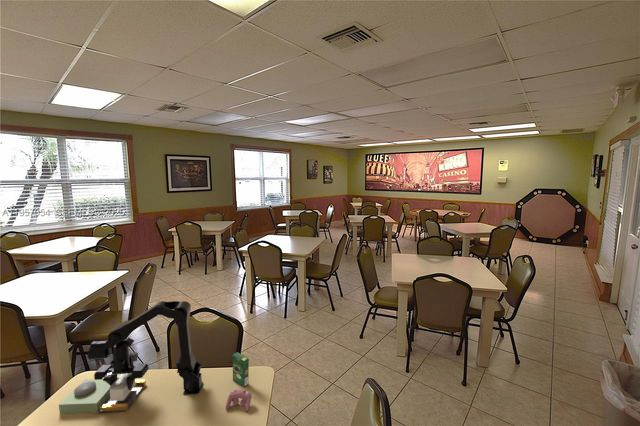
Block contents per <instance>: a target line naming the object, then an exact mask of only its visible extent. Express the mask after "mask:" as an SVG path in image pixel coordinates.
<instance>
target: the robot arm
mask: <svg viewBox="0 0 640 426" xmlns="http://www.w3.org/2000/svg"><path fill="white" fill-rule="evenodd" d="M191 308H192V307H191V303H190V302H188V301H187V300H182V301H176V300H171V301H164V300H163V301H158V302H157V303H156V304H154V305H152V306H151V307H150V308H148V309H147V310H144V311H143V312H141V313H140V314H139V315H136V316H135V317H134V318H132V319H130V320H125V321H122V322H120V323H118V324H117V325H116V326H115V327H113V329H112V330H110V332H109V333H108V336H107V338H108V339H106V340H100V341H99V340H96V341H95V340H93V341H92V342H91V343H90V345H89V346H90V347H89V350H88V354H87V358H88V360H90V361H91V360H100V359H107V358H108V357H109V356H111V358H112V359H111V361H110V364H102V365H101V366H100V367H99V368H98V369H97V370H96V371H95V372H94V374H93V379H95V380H101V379H103V381H105V382H107V383H108V384H109V385H110V386H111V385H112V384H113V383H114V382H115V381H116V379H117V378H118V375H121V374H127V373H129V377H128V378H127V379H126V381H127V385H128V389H129V390H131V388H132V385H133V382H134V379H135V380H136V379H142V378H143V377H144V376H145V375H146V373H147V372H148V370H149V369H150V367H149V363H138V364H136V366H133V365H134V362H138V358H139V357H138V354H139V352H130V348H129V347H131V346H132V345H133V343H134V342H135V339H133V338H130V337H129V336H130V335H131V334H132V333H133V332H134V331H135V330H137V329H139V328H140V327H141V326H143V325H144V324H146V323H148V322H149V321H151V320H153V319H154V318H155V317H157V316H162V317H165V318H168V319H173V322H174V323H175V325H176V326H177V331H178V332H177V333H178V334H177V335H178V342H179V351H180V352H179V353H180V355H179V357H178V359H177V362H176V368H177V370H176V374H178V375H179V377H180V378H182V380H183V381H182V382H183V385H182V387H183V390H184V391H182V392H183V393H182V394H183V395H195V394H196V395H197V394H199V393H200V392H201V389H202V387H203V385H204V382H203V379H202V372H201V368H202V363H200V362H198V361H196V360H197V359H196V356H195V354H194V353H193V351H192V345H191V344H192V343H191V333H190V331H191V330H190V325H189V324H190V323H189V322H190V317H191V316H190V315H191ZM127 337H128V338H127ZM131 366H133V367H131Z"/></svg>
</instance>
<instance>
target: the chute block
mask: <svg viewBox="0 0 640 426" xmlns="http://www.w3.org/2000/svg"><path fill="white" fill-rule="evenodd" d="M128 377H129V373H127V374H119V376H117V379H116V381H115V382H114V383H113V384H112V385H111V386H110V387H109V389H110V398H109V399H110V400H111V401H124V399H125V398H126V397H127V395H128V394H129V393H130V391H131V390H132V389H133V388H134V386H135V385H136V380H137V379H136V378H135V379H134V382H133V385H132V388H131V390H129V389H128V385H127V381H126V379H127V378H128Z"/></svg>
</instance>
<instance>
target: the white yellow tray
mask: <svg viewBox="0 0 640 426" xmlns="http://www.w3.org/2000/svg"><path fill="white" fill-rule="evenodd" d="M135 380H136V385H135V386H134V388H133V389H132V390H131V391H130V393H129V394H128V395H127V397H126V398H125V399H124V401H111V400H110V398H109V399H108V400H107V402H106V403H105V404H104V405H103V406H102V408H101V409H100V410H99V411H98V414H109V413H110V414H113V413H114V414H115V413H117V414H118V413H126V412H128V410H129V409H130V407H131V406H132V405H133V403H134V402H135V400H136V399H137V397H138V396H139V395H140V393H141V392H142V391H143V389H144V388H145V386H146V385H147V384H146V381H147V380H146V379H135Z"/></svg>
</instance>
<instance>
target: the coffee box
mask: <svg viewBox="0 0 640 426" xmlns="http://www.w3.org/2000/svg"><path fill="white" fill-rule="evenodd" d="M249 360H250V359H249V357H247V356H245V355H243V354H242V353H240V352H238V351H236V352H235V353H233V354H232V380H233V381H234V382H235V383H237V384H238V385H240V386H241V385H242V387H243V386H244V387H243V388H245V387H246V386H248V385H249V375H250V374H249V373H250V372H249V369H250V368H249ZM247 384H248V385H247Z"/></svg>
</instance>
